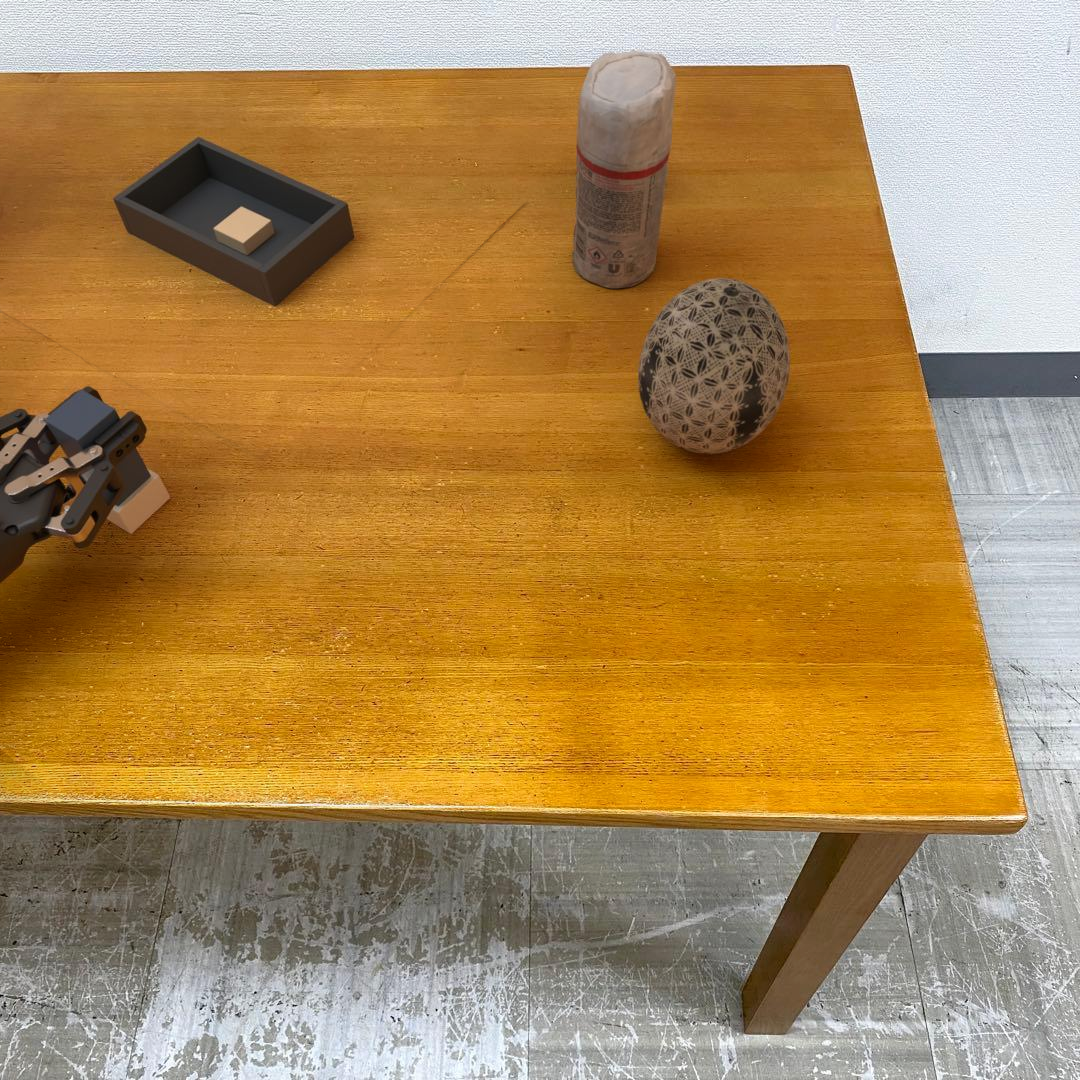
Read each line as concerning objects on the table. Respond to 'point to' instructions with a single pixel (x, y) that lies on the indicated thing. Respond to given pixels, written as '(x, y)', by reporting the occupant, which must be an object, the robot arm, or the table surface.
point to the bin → (214, 194)
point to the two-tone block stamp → (143, 487)
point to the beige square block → (244, 230)
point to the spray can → (622, 166)
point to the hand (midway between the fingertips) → (117, 408)
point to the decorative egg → (714, 366)
